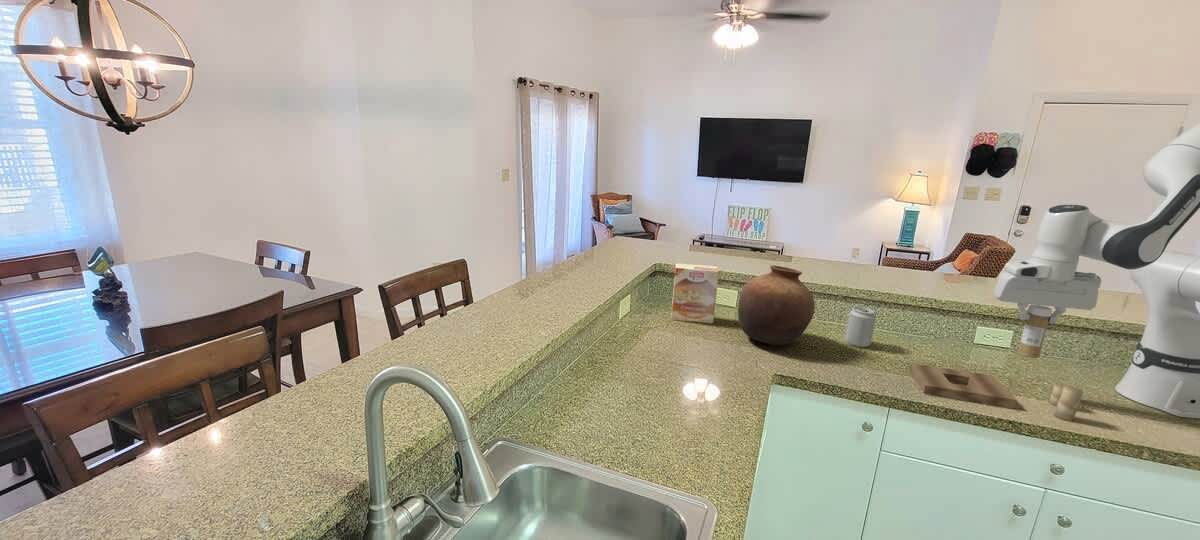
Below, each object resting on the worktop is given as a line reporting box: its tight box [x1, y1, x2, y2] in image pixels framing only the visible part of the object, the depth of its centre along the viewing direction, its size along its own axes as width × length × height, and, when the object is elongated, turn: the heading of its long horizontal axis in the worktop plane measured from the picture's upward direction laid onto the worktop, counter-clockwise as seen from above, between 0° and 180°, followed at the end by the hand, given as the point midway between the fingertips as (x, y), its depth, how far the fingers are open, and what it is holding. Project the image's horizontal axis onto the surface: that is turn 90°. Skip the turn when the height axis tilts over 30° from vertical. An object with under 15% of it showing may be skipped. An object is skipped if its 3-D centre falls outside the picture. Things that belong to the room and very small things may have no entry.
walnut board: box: [908, 362, 1018, 410], centre depth 130 cm, size 20×14×2 cm
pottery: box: [737, 264, 816, 346], centre depth 154 cm, size 23×23×25 cm
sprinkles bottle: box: [1017, 304, 1053, 359], centre depth 126 cm, size 5×5×14 cm
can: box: [844, 306, 877, 349], centre depth 156 cm, size 8×8×12 cm
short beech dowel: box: [1048, 383, 1065, 408], centre depth 123 cm, size 3×3×5 cm
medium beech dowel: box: [1054, 385, 1084, 422], centre depth 117 cm, size 3×3×8 cm
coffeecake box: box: [670, 262, 720, 324], centre depth 172 cm, size 15×7×20 cm, turn 81°
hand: (1037, 320), depth 125 cm, fingers closed on sprinkles bottle, 4 cm apart
